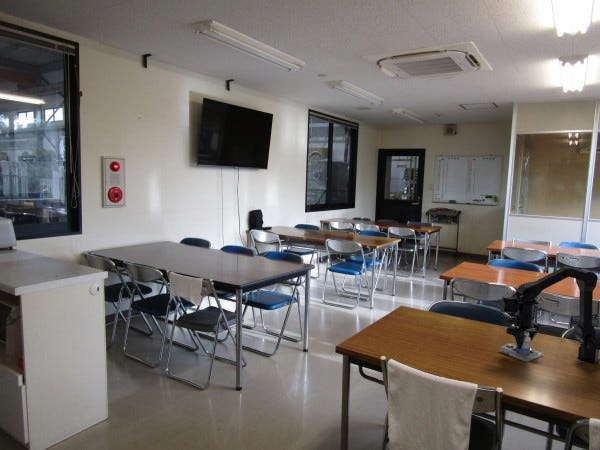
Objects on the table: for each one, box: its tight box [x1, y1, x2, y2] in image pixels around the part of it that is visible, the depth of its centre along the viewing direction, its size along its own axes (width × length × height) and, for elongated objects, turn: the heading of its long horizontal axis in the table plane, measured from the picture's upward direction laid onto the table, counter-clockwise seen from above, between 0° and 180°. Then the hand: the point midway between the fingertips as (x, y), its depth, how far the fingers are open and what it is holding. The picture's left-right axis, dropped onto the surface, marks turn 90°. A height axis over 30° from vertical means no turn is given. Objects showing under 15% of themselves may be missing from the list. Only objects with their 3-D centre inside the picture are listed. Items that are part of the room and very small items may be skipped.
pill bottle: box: [515, 331, 532, 355], centre depth 187 cm, size 6×5×10 cm
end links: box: [499, 342, 544, 362], centre depth 190 cm, size 12×13×3 cm
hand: (523, 347), depth 187 cm, fingers closed on pill bottle, 5 cm apart
